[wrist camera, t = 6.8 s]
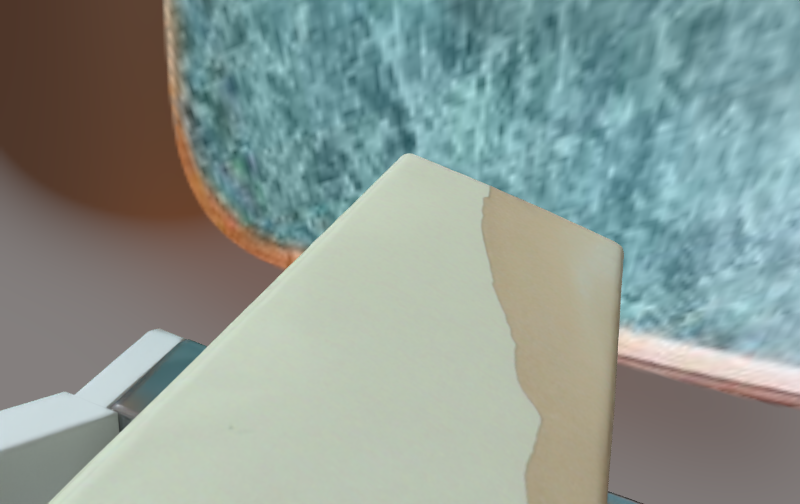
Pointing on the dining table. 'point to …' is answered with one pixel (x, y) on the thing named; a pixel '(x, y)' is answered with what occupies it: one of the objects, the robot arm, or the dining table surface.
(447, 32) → the dining table surface
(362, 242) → the box
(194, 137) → the dining table surface
